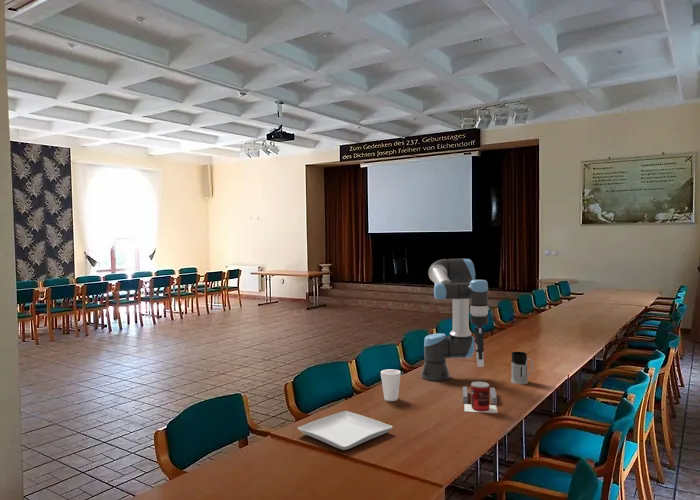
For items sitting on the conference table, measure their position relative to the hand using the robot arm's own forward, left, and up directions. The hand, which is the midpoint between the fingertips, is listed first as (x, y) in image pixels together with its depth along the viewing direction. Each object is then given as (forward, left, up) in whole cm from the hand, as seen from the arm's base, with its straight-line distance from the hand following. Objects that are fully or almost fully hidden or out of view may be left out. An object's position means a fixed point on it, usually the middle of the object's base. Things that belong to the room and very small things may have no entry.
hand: (479, 362), depth 232 cm
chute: (0, +9, -21) cm, 23 cm away
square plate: (-53, -39, -21) cm, 69 cm away
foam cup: (-41, +8, -21) cm, 47 cm away
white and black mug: (+23, +44, -21) cm, 54 cm away
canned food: (0, 0, -21) cm, 21 cm away
